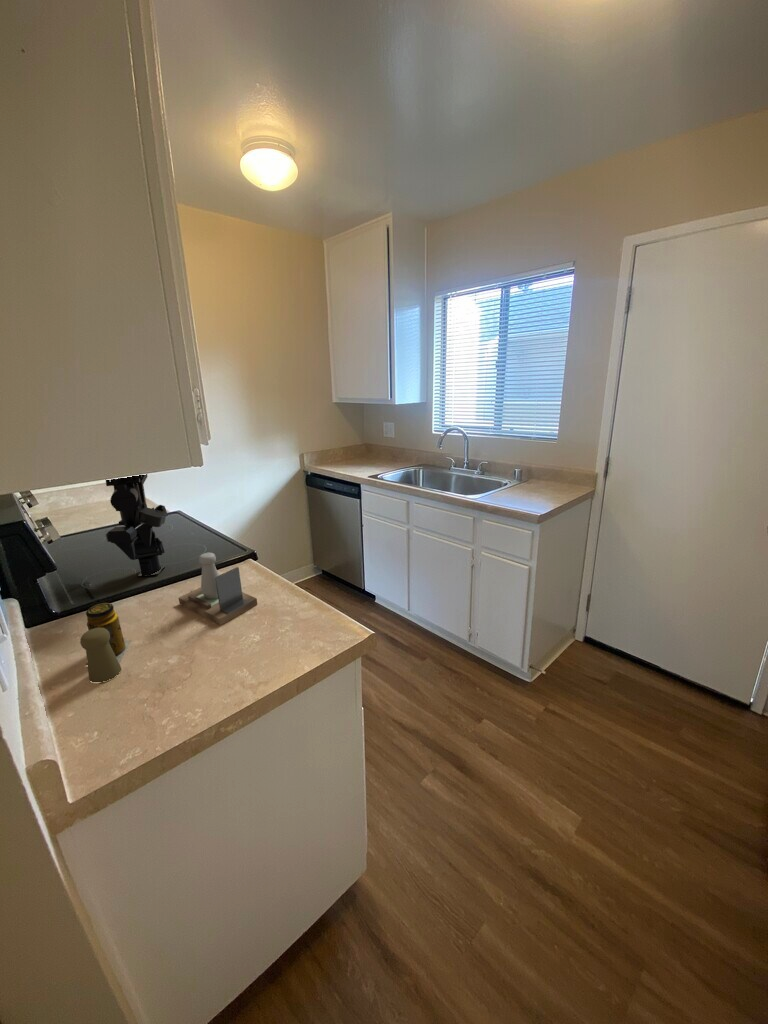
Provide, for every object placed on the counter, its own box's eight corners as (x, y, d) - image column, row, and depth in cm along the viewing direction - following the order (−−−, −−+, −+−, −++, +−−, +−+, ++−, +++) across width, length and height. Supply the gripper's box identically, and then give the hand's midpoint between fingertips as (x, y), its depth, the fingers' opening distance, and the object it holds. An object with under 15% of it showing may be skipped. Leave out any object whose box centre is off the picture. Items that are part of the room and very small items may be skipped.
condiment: (131, 640, 102) (121, 598, 98) (120, 663, 94) (108, 618, 90) (98, 645, 100) (86, 602, 96) (84, 668, 92) (70, 623, 88)
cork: (86, 673, 91) (73, 631, 87) (117, 660, 95) (106, 620, 91) (92, 688, 87) (79, 644, 83) (124, 673, 91) (113, 631, 87)
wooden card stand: (179, 603, 117) (177, 593, 116) (216, 586, 127) (214, 576, 126) (220, 625, 107) (219, 614, 106) (257, 604, 117) (256, 594, 116)
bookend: (220, 610, 110) (214, 577, 107) (241, 598, 116) (237, 567, 113) (228, 614, 109) (222, 580, 105) (249, 602, 114) (245, 570, 111)
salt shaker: (222, 600, 115) (215, 558, 111) (200, 602, 114) (193, 560, 110) (225, 589, 121) (219, 549, 116) (204, 591, 120) (197, 551, 115)
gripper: (143, 510, 106) (155, 565, 111) (173, 491, 124) (181, 539, 129) (98, 512, 106) (112, 567, 111) (134, 492, 123) (145, 540, 128)
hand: (140, 552), depth 120 cm, fingers open, 9 cm apart
